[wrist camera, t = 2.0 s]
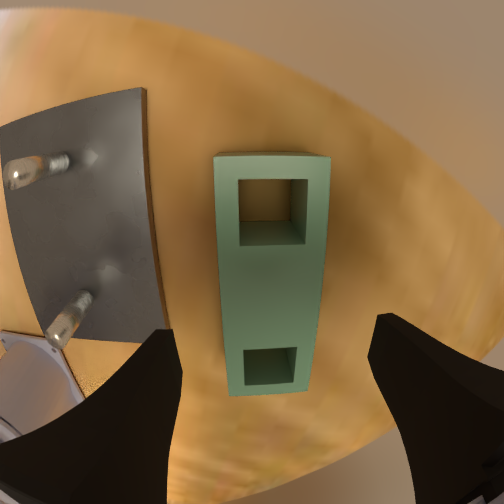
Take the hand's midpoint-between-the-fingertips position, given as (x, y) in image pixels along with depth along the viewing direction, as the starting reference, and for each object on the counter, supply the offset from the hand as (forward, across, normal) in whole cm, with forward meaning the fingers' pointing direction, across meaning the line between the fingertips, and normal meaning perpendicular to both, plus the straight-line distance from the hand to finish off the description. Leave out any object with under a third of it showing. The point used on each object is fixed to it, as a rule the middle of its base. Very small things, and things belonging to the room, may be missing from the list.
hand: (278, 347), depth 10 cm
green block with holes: (+9, 0, +1) cm, 9 cm away
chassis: (+9, +12, -2) cm, 15 cm away
